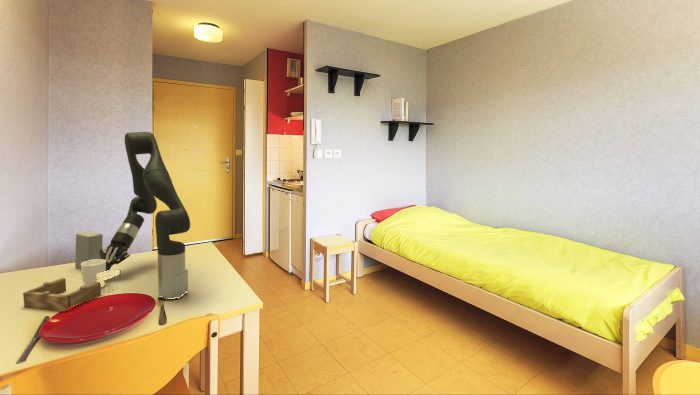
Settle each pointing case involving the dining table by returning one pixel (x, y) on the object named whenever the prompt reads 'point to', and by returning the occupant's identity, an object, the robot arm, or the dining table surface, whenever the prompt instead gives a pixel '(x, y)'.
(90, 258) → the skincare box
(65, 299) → the wooden tray
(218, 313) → the dining table surface
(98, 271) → the white cup
